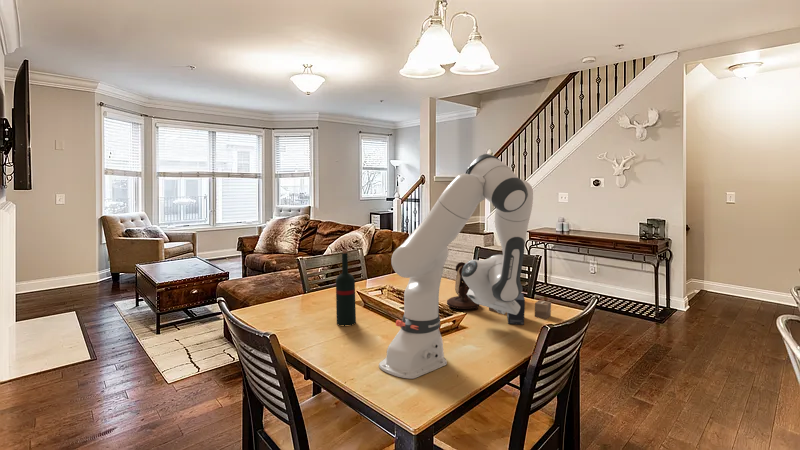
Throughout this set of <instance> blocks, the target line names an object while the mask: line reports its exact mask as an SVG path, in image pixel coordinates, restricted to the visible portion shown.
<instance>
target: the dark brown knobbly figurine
mask: <svg viewBox="0 0 800 450" xmlns="http://www.w3.org/2000/svg"><path fill="white" fill-rule="evenodd" d="M466 263H467V262H464V261H463V262H462V261H461V262H458V263H457V264H456V266H455V272H456V277H455V286H454V289H455V293H456V295H457V296H453V297H450V298H449V299H447V300H446V305H447V306H448V307H450V308H453V309H454V308H456V309H459V310H469V309H475V310H476V311H477V310H478V309H479V308H478V307H480V306H481V305H479V304H476V303H474V302H473V301H472V300H471V298H470V297H468V296H467V292H468V290H469V287H468V286H467V284H466V283H465V281H464V280H463V277H462V268H463V266H464V265H465V264H466Z"/></svg>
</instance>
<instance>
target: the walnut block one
mask: <svg viewBox="0 0 800 450" xmlns="http://www.w3.org/2000/svg"><path fill="white" fill-rule="evenodd" d="M551 313H552V302H551V301H545V300H541V299H539V300H537V301H536V302H534V318H535V317H536V318H538V317H539V318H540V319H543V318H544V320H547V319H549V318H550V317H551V316H552V314H551ZM539 318H538V319H539Z"/></svg>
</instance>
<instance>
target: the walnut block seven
mask: <svg viewBox="0 0 800 450" xmlns="http://www.w3.org/2000/svg"><path fill="white" fill-rule="evenodd" d="M489 311H490V312H494V313H498V312H497V311H496V310H494V309H493V308H490V307H488V312H489Z"/></svg>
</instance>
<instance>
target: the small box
mask: <svg viewBox="0 0 800 450" xmlns="http://www.w3.org/2000/svg"><path fill="white" fill-rule="evenodd" d="M515 301H516V302H517V303H518V304H519V305H520V310H519V312H518V314H517V315H514V314H511V313H507V312H506V314H507V315H506V317H507V318H506V319H507V324H508V325H517V326H518V325H519V326H523V325H524V324H525V314H526V313H525V309H526V307H525V304H526V300H525V296H524V293H522V292H521V294H520V295H519V297H518V298H517V299H515Z"/></svg>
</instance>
